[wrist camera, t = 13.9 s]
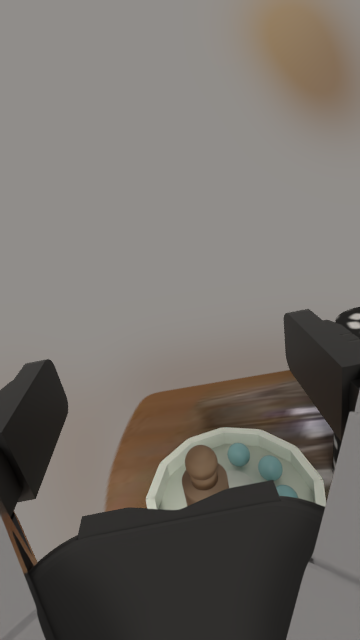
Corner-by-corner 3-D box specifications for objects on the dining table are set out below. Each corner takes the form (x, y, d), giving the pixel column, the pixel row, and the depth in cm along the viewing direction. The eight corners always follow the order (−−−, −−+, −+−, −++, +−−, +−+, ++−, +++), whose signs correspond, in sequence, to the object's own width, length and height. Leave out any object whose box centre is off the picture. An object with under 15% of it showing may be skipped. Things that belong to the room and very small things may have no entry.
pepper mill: (246, 547, 32) (232, 445, 27) (221, 582, 30) (200, 478, 25) (215, 523, 35) (197, 426, 30) (190, 553, 33) (165, 454, 28)
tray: (356, 496, 36) (357, 470, 35) (260, 671, 25) (256, 644, 24) (222, 426, 50) (219, 405, 48) (121, 520, 39) (113, 497, 37)
